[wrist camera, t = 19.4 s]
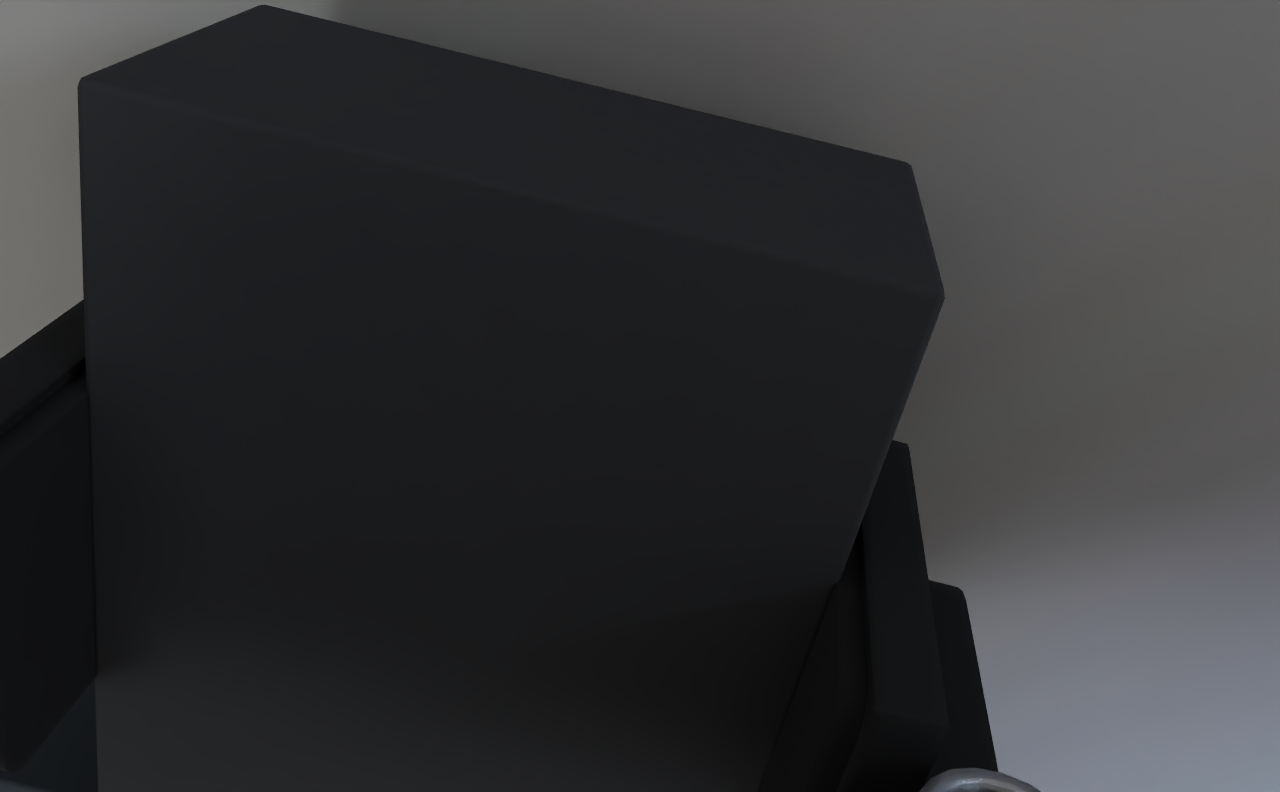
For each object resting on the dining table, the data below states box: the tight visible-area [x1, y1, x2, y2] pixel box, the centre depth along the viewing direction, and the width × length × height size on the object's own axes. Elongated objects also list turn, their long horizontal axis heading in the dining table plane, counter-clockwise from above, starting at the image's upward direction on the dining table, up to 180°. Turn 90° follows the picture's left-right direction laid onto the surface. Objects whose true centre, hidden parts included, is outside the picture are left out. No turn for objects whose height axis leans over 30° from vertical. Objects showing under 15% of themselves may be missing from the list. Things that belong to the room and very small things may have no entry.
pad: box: [78, 5, 945, 792], centre depth 12 cm, size 11×6×3 cm, turn 168°
